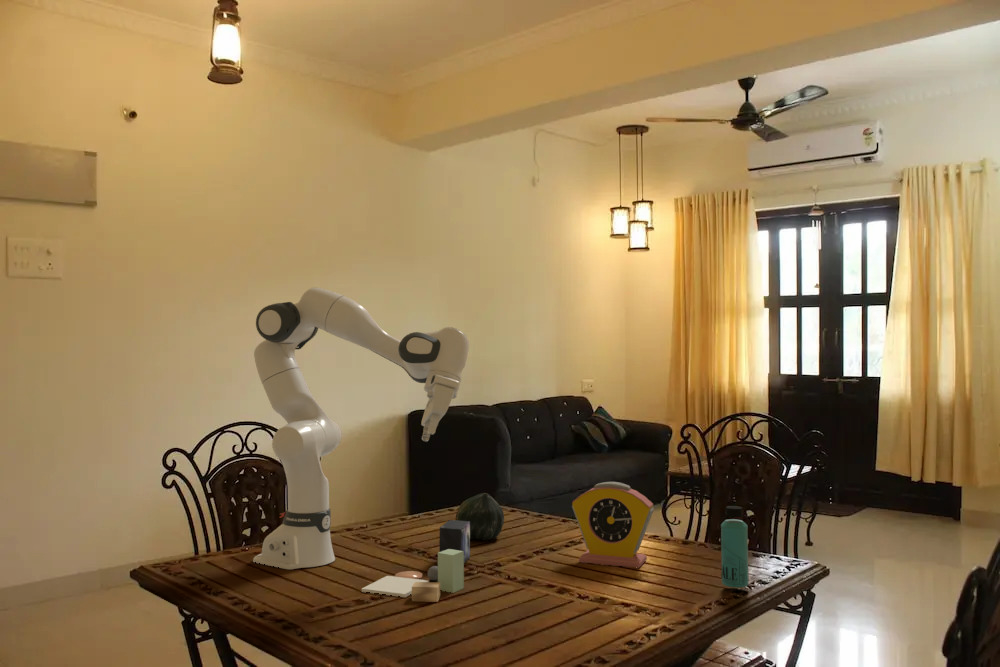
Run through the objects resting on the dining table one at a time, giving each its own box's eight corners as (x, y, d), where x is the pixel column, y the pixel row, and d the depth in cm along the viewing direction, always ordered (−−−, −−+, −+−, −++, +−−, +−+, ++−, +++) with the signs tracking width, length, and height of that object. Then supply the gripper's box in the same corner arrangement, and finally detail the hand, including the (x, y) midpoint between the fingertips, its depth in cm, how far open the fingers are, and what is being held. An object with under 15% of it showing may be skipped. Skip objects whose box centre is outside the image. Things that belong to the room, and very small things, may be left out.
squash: (454, 514, 261) (457, 484, 251) (500, 515, 262) (505, 485, 253) (454, 552, 250) (458, 522, 240) (503, 553, 252) (508, 523, 242)
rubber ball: (425, 581, 205) (424, 567, 205) (431, 578, 209) (431, 563, 209) (437, 583, 204) (437, 568, 204) (444, 579, 207) (444, 565, 207)
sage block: (437, 590, 198) (437, 552, 198) (448, 585, 202) (448, 548, 202) (453, 593, 196) (452, 555, 196) (463, 588, 200) (463, 551, 200)
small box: (461, 568, 218) (461, 528, 218) (438, 566, 219) (438, 527, 220) (471, 557, 228) (471, 520, 229) (448, 556, 230) (448, 519, 230)
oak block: (411, 601, 190) (411, 586, 190) (415, 596, 194) (415, 581, 194) (437, 602, 189) (437, 587, 189) (440, 597, 193) (440, 582, 193)
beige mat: (361, 591, 197) (361, 588, 197) (387, 578, 208) (387, 575, 208) (405, 597, 192) (405, 594, 192) (429, 583, 203) (429, 580, 203)
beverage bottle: (749, 587, 198) (748, 504, 199) (748, 595, 192) (747, 509, 192) (722, 585, 201) (721, 503, 201) (720, 592, 194) (719, 508, 195)
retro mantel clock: (569, 562, 223) (568, 483, 224) (578, 554, 232) (578, 477, 232) (649, 569, 215) (648, 487, 215) (656, 561, 223) (655, 482, 224)
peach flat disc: (389, 580, 208) (389, 576, 208) (403, 573, 215) (403, 570, 215) (414, 582, 206) (414, 579, 206) (427, 575, 212) (427, 572, 212)
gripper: (424, 392, 224) (410, 441, 219) (436, 373, 205) (421, 425, 200) (446, 399, 225) (432, 447, 220) (460, 381, 206) (446, 433, 201)
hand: (427, 437), depth 210 cm, fingers open, 8 cm apart
